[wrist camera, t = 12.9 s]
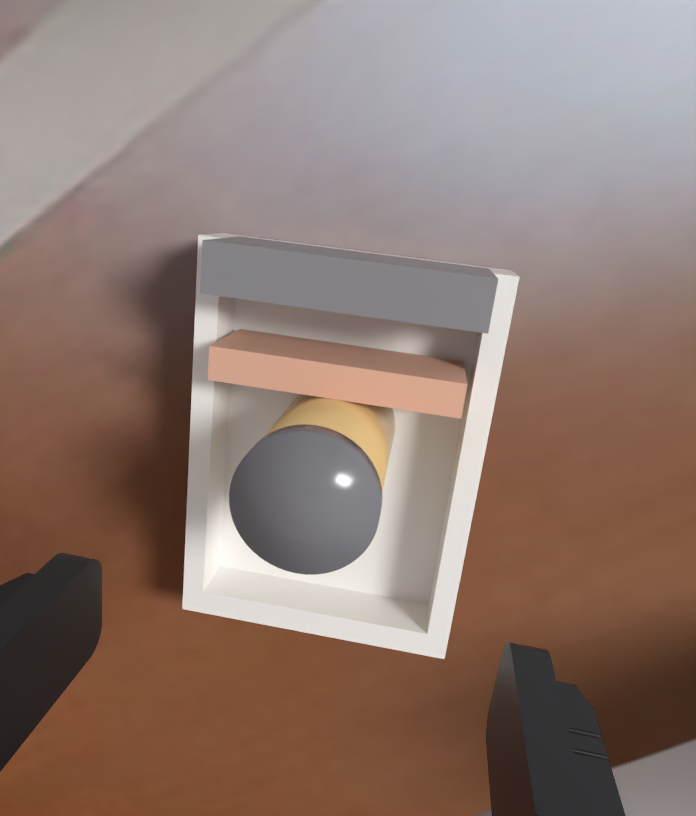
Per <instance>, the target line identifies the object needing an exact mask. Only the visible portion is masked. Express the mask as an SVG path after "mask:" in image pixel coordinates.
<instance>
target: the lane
mask: <svg viewBox="0 0 696 816" xmlns="http://www.w3.org/2000/svg"><path fill="white" fill-rule="evenodd" d="M518 282H519V276H518V275H517V274H515V273H514V272H513V271H511V270H506V269H498V268H490V267H483V266H475V265H467V264H459V263H452V262H444V261H436V260H428V259H421V258H413V257H405V256H397V255H390V254H382V253H374V252H366V251H359V250H351V249H343V248H335V247H328V246H320V245H312V244H304V243H297V242H289V241H281V240H274V239H266V238H258V237H250V236H243V235H235V234H227V233H218V234H205V235H198V253H197V277H196V300H195V324H194V348H193V371H192V395H191V418H190V442H189V465H188V489H187V513H186V536H185V560H184V583H183V607H182V609H185V610H191V611H196V612H201V613H206V614H212V615H217V616H222V617H227V618H232V619H238V620H243V621H248V622H253V623H259V624H264V625H269V626H274V627H279V628H285V629H290V630H295V631H300V632H306V633H311V634H316V635H321V636H326V637H332V638H337V639H342V640H347V641H353V642H358V643H363V644H368V645H373V646H379V647H384V648H389V649H394V650H399V651H405V652H410V653H415V654H420V655H426V656H431V657H436V658H441V659H445V654H446V649H447V644H448V639H449V634H450V628H451V623H452V618H453V613H454V608H455V603H456V598H457V593H458V588H459V583H460V577H461V572H462V567H463V562H464V557H465V552H466V547H467V542H468V537H469V532H470V527H471V521H472V516H473V511H474V506H475V501H476V496H477V491H478V486H479V481H480V476H481V470H482V465H483V460H484V455H485V450H486V445H487V440H488V435H489V430H490V425H491V419H492V414H493V409H494V404H495V399H496V394H497V389H498V384H499V379H500V374H501V368H502V363H503V358H504V353H505V348H506V343H507V338H508V333H509V328H510V323H511V317H512V312H513V307H514V302H515V297H516V292H517V287H518ZM239 329H244V330H251V331H258V332H265V333H272V334H279V335H285V336H292V337H299V338H306V339H313V340H320V341H327V342H334V343H341V344H348V345H355V346H362V347H369V348H375V349H382V350H389V351H396V352H403V353H410V354H417V355H424V356H431V357H438V358H445V359H452V360H459V361H464V366H465V372H466V378H467V389H466V395H465V400H464V406H463V411H462V417H461V419H460V418H453V417H447V416H440V415H434V414H427V413H420V412H414V411H407V410H401V409H394V408H393V411H394V416H395V425H396V426H395V435H394V439H393V444H392V449H391V453H390V458H389V463H388V467H387V472H386V477H385V481H384V486H383V491H382V496H383V500H382V509H381V514H380V519H379V523H378V528H377V531H376V533H375V536H374V538H373V540H372V542H371V543H370V545H369V547H368V548H367V549H366V550H365V552H364V553H363V554H362V555H361V556H360V557H359V558H358V559H356V560H355V561H353V562H352V563H351V564H349V565H347V566H345V567H343V568H341V569H339V570H336V571H333V572H329V573H325V574H316V575H305V574H297V573H293V572H289V571H285V570H283V569H280V568H277V567H275V566H273V565H271V564H269V563H268V562H266V561H265V560H263V559H262V558H260V557H259V556H258V555H257V554H255V553H254V552H253V551H252V550H251V549H250V548H249V547H248V546H247V545H246V543H245V542H244V541H243V539H242V538H241V536H240V535H239V533H238V531H237V529H236V527H235V525H234V522H233V520H232V516H231V513H230V506H229V490H230V484H231V481H232V477H233V475H234V472H235V470H236V468H237V466H238V465H239V463H240V462H241V460H242V459H243V458H244V457H245V455H246V454H247V453H248V452H249V451H250V449H251V448H252V447H253V446H254V445H255V444H256V443H257V442H258V441H259V440H260V439H262V438H263V437H264V436H265V435H266V434H267V433H268V432H269V430H270V429H271V428H272V427H273V425H274V424H275V423H276V422H277V420H278V419H279V418H280V417H281V415H282V414H283V413H284V412H285V410H286V409H287V408H288V407H289V405H290V404H291V403H292V402H293V400H294V399H295V398H296V397H297V395H298V394H297V393H290V392H284V391H277V390H271V389H264V388H258V387H251V386H245V385H238V384H231V383H225V382H218V381H212V380H208V363H209V346H210V345H212V344H214V343H216V342H217V341H219V340H221V339H223V338H224V337H226V336H228V335H230V334H232V333H233V332H235V331H237V330H239Z"/></svg>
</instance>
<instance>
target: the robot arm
mask: <svg viewBox="0 0 696 816" xmlns="http://www.w3.org/2000/svg"><path fill="white" fill-rule="evenodd" d="M101 628H102V567H101V564H100V562H99V561H98V560H95V559H90V558H85V557H80V556H75V555H70V554H65V553H59V554H57V555H56V556H55V557H53V558H52V559H51V560H50V561H49V562H48V563H47V564H46V565H44V566H43V567H42V568H41V569H40V570H39V571H38V572H37V573H36V574H30V573H26V574H24V575H21V576H19V577H17V578H15V579H13V580H11V581H9V582H7V583H4V584H2V585H0V771H1V770H2V769H3V768H4V766H5V765H6V764H7V763H8V761H9V760H10V759H11V758H12V756H13V755H14V754H15V752H16V751H17V750H18V749H19V747H20V746H21V745H22V744H23V742H24V741H25V740H26V739H27V737H28V736H29V735H30V733H31V732H32V731H33V730H34V728H35V727H36V726H37V725H38V723H39V722H40V721H41V719H42V718H43V717H44V716H45V714H46V713H47V712H48V711H49V709H50V708H51V707H52V706H53V704H54V703H55V702H56V700H57V699H58V698H59V697H60V695H61V694H62V693H63V692H64V690H65V689H66V688H67V687H68V685H69V684H70V683H71V681H72V680H73V679H74V678H75V676H76V675H77V674H78V673H79V671H80V670H81V669H82V668H83V666H84V665H85V664H86V662H87V661H88V660H89V659H90V657H91V656H92V654H93V652H94V650H95V648H96V646H97V644H98V641H99V637H100V634H101ZM486 745H487V758H488V771H489V784H490V797H491V810H492V816H625V813H624V810H623V806H622V803H621V800H620V796H619V793H618V789H617V786H616V783H615V779H614V776H613V772H612V769H611V766H610V762H609V761H607V752H606V749H605V746H604V742H603V739H601V732H600V729H599V725H598V722H597V719H596V715H595V712H594V709H593V708H592V706H591V705H590V704H589V702H588V701H587V700H586V698H585V697H584V696H583V694H582V693H581V692H580V690H579V689H578V688H577V686H576V685H573V684H568V683H563V682H558V681H556V678H555V674H554V669H553V665H552V661H551V657H550V653H549V651H548V650H545V649H540V648H535V647H529V646H524V645H519V644H514V643H509V642H507V643H506V645H505V647H504V650H503V654H502V658H501V662H500V666H499V670H498V674H497V678H496V682H495V686H494V690H493V694H492V698H491V703H490V707H489V712H488V719H487V731H486Z"/></svg>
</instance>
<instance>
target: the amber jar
mask: <svg viewBox="0 0 696 816" xmlns="http://www.w3.org/2000/svg"><path fill="white" fill-rule="evenodd" d="M395 426H396V425H395V416H394V411H393V408H388V407H381V406H375V405H368V404H362V403H355V402H349V401H342V400H336V399H329V398H323V397H316V396H310V395H303V394H298V395H297V397H296V398H295V399H294V400H293V402H292V403H291V404H290V405H289V407H288V408H287V409H286V410H285V412H284V413H283V414H282V415H281V417H280V418H279V419H278V420H277V422H276V423H275V424H274V425H273V427H272V428H271V429H270V430H269V432H268V433H267V434H266V435H265V436H264V437H263V438H262V439H260V440H259V441H258V442H257V443H256V444H255V445H254V446H253V447H252V448H251V449H250V451H249V452H248V453H247V454H246V455H245V457H244V458H243V459H242V460H241V462H240V463H239V465H238V466H237V468H236V470H235V472H234V475H233V477H232V481H231V484H230V490H229V506H230V513H231V516H232V520H233V522H234V525H235V527H236V529H237V531H238V533H239V535H240V536H241V538H242V539H243V541H244V542H245V543H246V545H247V546H248V547H249V548H250V549H251V550H252V551H253V552H254V553H255V554H257V555H258V556H259V557H260V558H262V559H263V560H265V561H266V562H268V563H269V564H271V565H273V566H275V567H277V568H280V569H283V570H285V571H289V572H293V573H297V574H305V575H316V574H325V573H329V572H333V571H336V570H339V569H341V568H343V567H345V566H347V565H349V564H351V563H352V562H353V561H355V560H356V559H358V558H359V557H360V556H361V555H362V554H363V553H364V552H365V550H366V549H367V548H368V547H369V545H370V543H371V542H372V540H373V538H374V536H375V533H376V531H377V528H378V523H379V519H380V514H381V509H382V500H383V496H382V491H383V486H384V481H385V477H386V472H387V467H388V463H389V458H390V453H391V449H392V444H393V439H394V435H395Z"/></svg>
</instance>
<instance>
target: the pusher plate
mask: <svg viewBox="0 0 696 816" xmlns="http://www.w3.org/2000/svg"><path fill="white" fill-rule="evenodd" d="M208 380H212V381H218V382H225V383H231V384H238V385H245V386H251V387H258V388H264V389H271V390H277V391H284V392H290V393H297V394H303V395H310V396H316V397H323V398H329V399H336V400H342V401H349V402H355V403H362V404H368V405H375V406H381V407H388V408H394V409H401V410H407V411H414V412H420V413H427V414H434V415H440V416H447V417H453V418H460V419H461V417H462V411H463V406H464V400H465V395H466V389H467V378H466V372H465V366H464V361H459V360H452V359H445V358H438V357H431V356H424V355H417V354H410V353H403V352H396V351H389V350H382V349H375V348H369V347H362V346H355V345H348V344H341V343H334V342H327V341H320V340H313V339H306V338H299V337H292V336H285V335H279V334H272V333H265V332H258V331H251V330H244V329H239V330H237V331H235V332H233V333H232V334H230V335H228V336H226V337H224V338H223V339H221V340H219V341H217V342H216V343H214V344H212V345H210V346H209V363H208Z"/></svg>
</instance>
